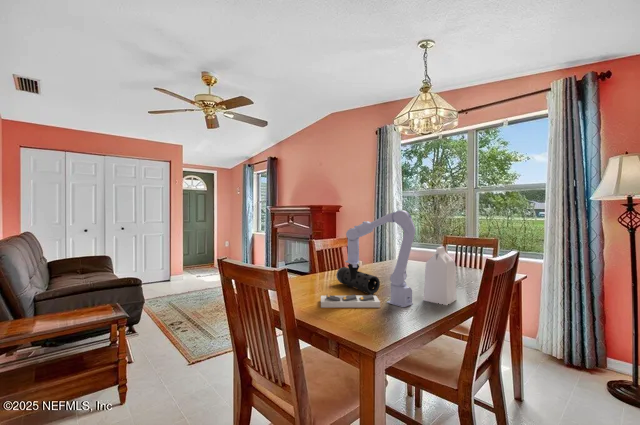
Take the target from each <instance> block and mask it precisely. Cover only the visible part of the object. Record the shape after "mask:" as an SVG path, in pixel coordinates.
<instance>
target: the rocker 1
mask: <svg viewBox="0 0 640 425" xmlns="http://www.w3.org/2000/svg"><path fill="white" fill-rule="evenodd" d="M325 296H326V299H329V300H332V301H339V297H335V296H336V295H331V294H326V295H325Z"/></svg>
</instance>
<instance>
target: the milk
mask: <svg viewBox="0 0 640 425" xmlns="http://www.w3.org/2000/svg"><path fill="white" fill-rule="evenodd" d="M456 269H457V268H456V262H455V261H454V259H453V258H452V257H451V256H450V255H449V254H448V253H447V252H446V248H445V246H439V247H436V251H435V254H433V256H431V257H430V258H429V259H427V260H426V263H425V269H424V270H425V271H424V283H423V284H424V285H423V298H422V299H423V301H425V302H428V303H429V302H430V303H434V304H438V303H439V305H442V304H443V305H442V306H448V304H449V305H451V304H452V303H454V302H455V301H457V272H456Z"/></svg>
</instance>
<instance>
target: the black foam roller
mask: <svg viewBox="0 0 640 425" xmlns="http://www.w3.org/2000/svg"><path fill="white" fill-rule="evenodd" d="M335 276H336V279H337V281H338V282H339V283H341V284H343V285H346V286H347V287H348V288H355V289H357V290H358V291H360V292H363V293H366V294H368V295H371V294H372V295H373V296H374V294H375V293H377V292H378V291H379V289H380V287H381V286H380V285H381V284H380V283H381V281H380V279H379V277H377V276H376V275H372V274H368V273H365V272H362V271H357V275H356V279H351V276H350V270H349V267H348V266H347V267H345V266H343V267H340V268H339V269H337V271H336V274H335Z"/></svg>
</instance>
